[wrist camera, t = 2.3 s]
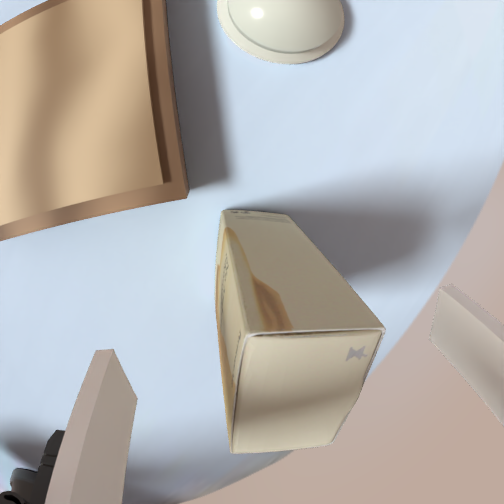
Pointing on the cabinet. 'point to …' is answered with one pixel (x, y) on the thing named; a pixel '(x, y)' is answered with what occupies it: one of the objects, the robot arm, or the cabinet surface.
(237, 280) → the skincare box
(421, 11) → the cabinet surface
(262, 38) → the trinket dish
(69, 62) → the tan square flat tray
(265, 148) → the cabinet surface
